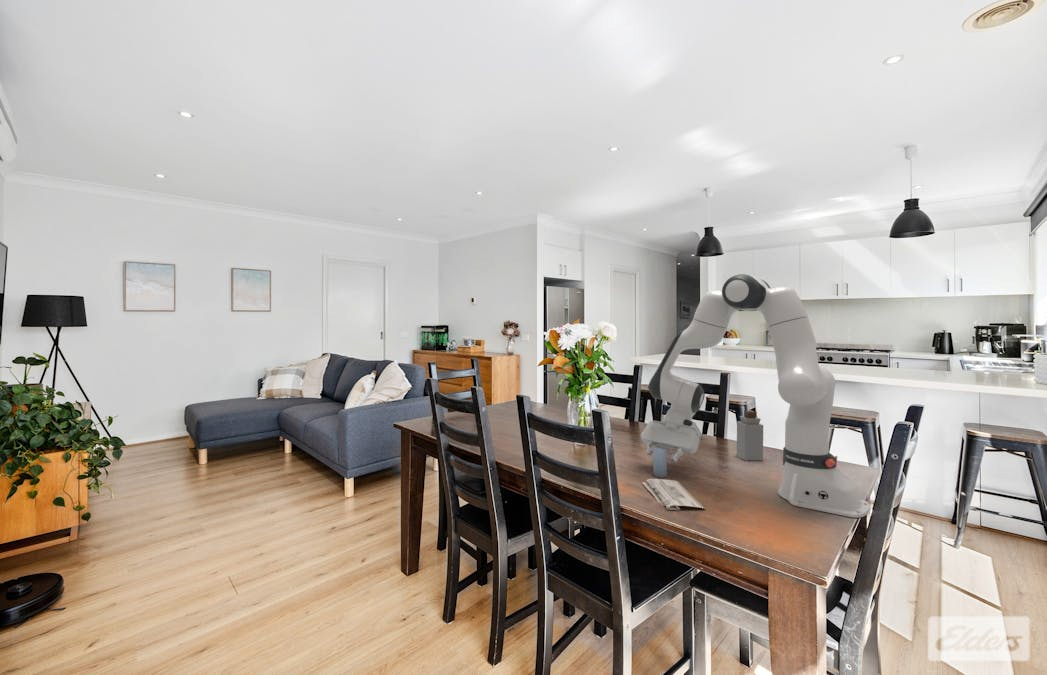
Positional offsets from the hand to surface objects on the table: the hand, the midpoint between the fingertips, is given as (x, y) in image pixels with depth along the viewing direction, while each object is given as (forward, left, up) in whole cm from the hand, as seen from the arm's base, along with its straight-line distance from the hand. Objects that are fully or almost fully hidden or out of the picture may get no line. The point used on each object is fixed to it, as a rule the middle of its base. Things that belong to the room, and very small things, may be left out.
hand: (660, 457), depth 157 cm
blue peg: (0, +1, -6) cm, 6 cm away
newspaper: (-12, +15, -7) cm, 20 cm away
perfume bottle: (-13, -41, -6) cm, 44 cm away
